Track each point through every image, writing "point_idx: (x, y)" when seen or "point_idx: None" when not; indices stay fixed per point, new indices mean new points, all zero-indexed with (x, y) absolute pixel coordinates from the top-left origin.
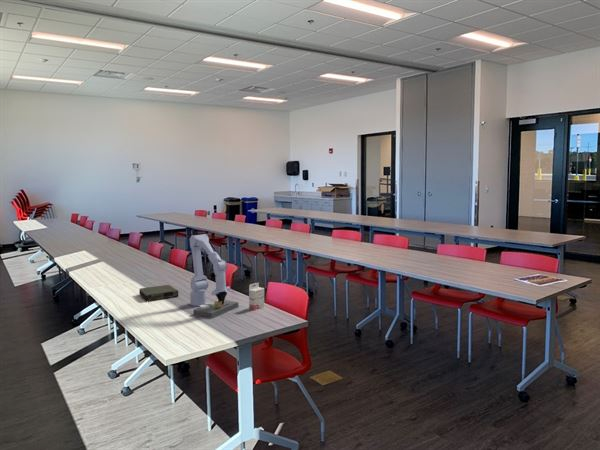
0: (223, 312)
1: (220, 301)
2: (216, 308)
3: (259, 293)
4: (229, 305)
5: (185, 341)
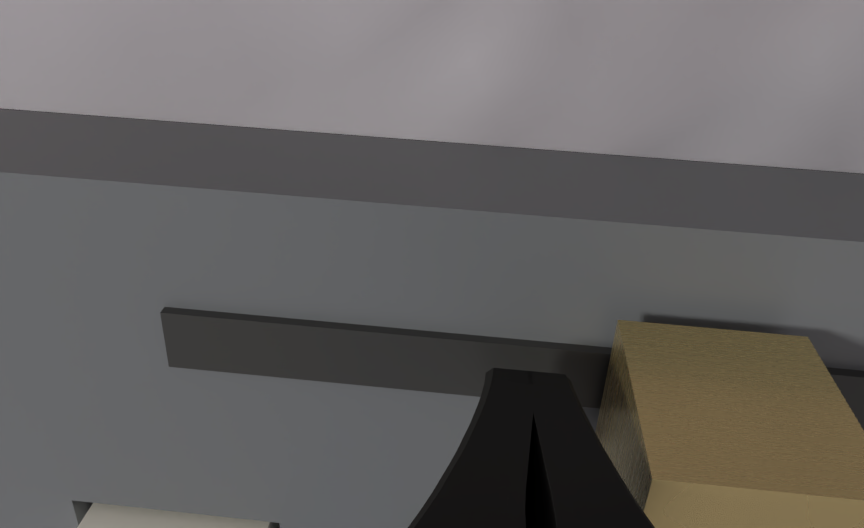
0: (653, 169)
1: (735, 499)
2: None
3: None
4: (282, 225)
5: None
